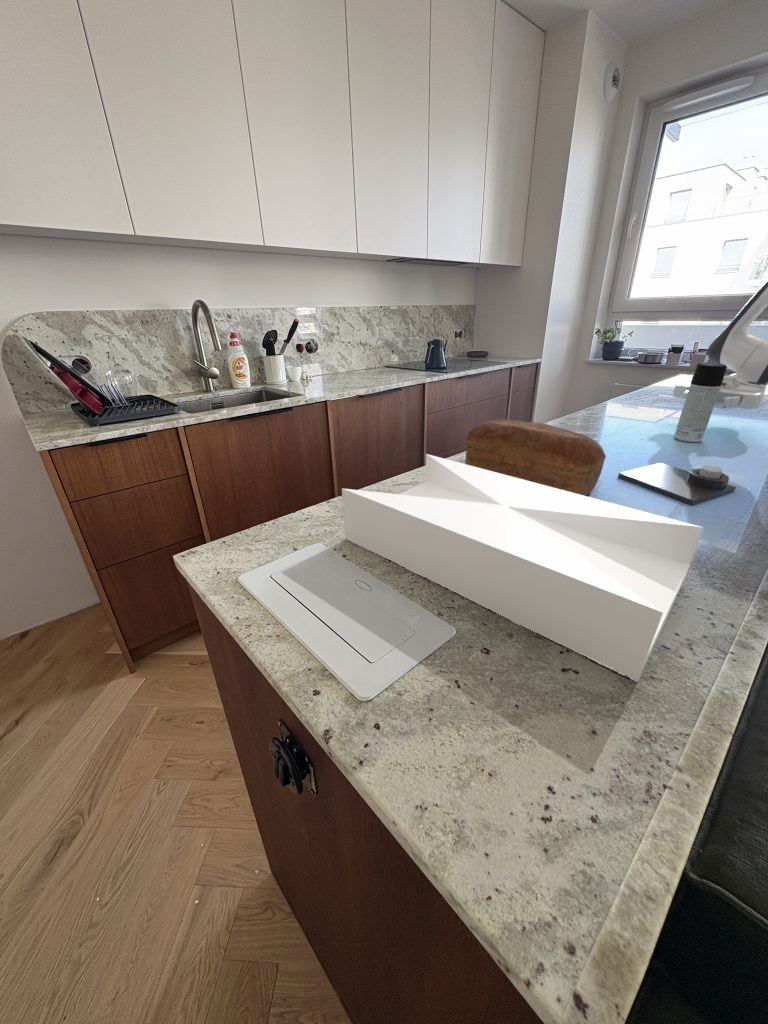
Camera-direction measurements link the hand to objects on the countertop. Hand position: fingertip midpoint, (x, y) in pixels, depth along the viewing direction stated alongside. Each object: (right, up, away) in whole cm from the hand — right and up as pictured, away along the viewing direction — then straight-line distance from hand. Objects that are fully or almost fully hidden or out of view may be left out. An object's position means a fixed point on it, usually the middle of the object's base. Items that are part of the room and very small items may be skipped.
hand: (704, 398), depth 113 cm
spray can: (-2, -11, +4) cm, 11 cm away
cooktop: (-25, -25, -24) cm, 42 cm away
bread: (-55, -24, -20) cm, 63 cm away
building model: (-69, -38, -48) cm, 93 cm away
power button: (-19, -23, -26) cm, 40 cm away
